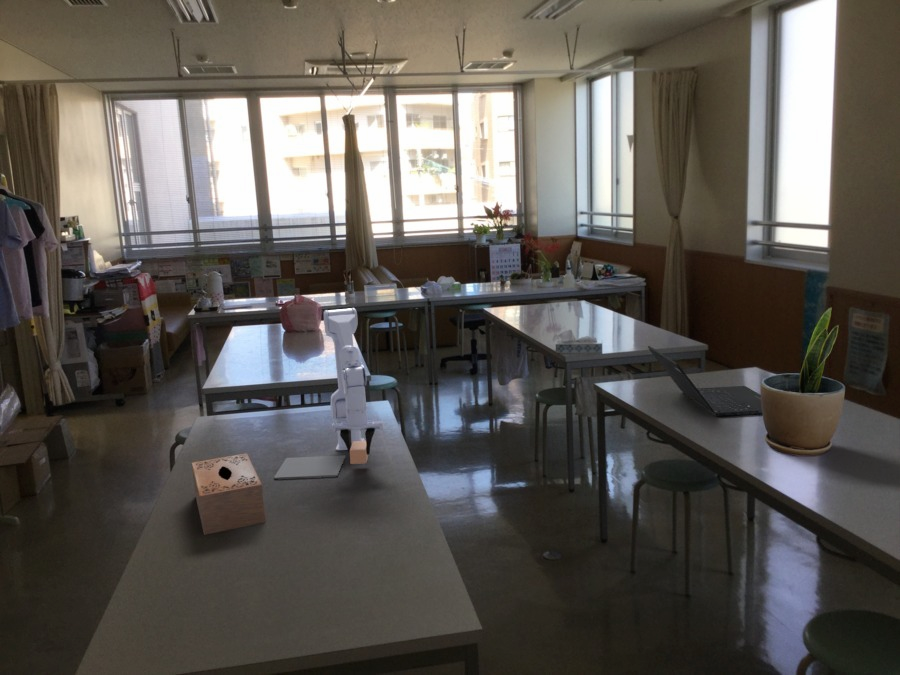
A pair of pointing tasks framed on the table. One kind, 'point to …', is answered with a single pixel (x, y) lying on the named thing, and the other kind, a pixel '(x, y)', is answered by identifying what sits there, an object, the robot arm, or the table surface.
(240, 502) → the tissue box cover
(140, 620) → the table surface
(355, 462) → the light orange rectangular block
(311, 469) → the mat
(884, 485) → the table surface
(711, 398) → the laptop
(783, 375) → the potted plant
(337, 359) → the robot arm
